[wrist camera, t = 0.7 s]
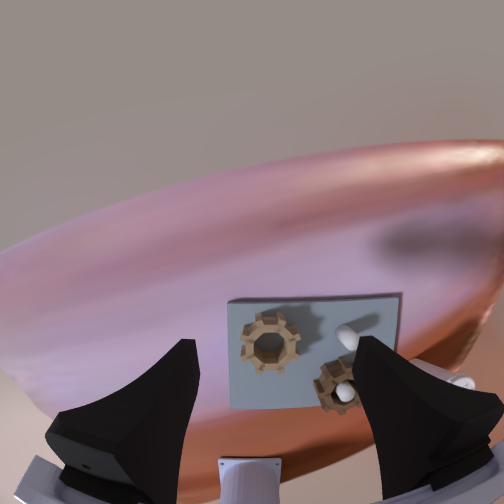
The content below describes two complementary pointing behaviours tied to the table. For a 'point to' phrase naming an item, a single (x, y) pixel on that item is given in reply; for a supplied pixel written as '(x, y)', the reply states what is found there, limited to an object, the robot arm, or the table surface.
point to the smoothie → (445, 374)
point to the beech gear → (269, 359)
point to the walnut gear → (327, 383)
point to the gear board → (304, 347)
